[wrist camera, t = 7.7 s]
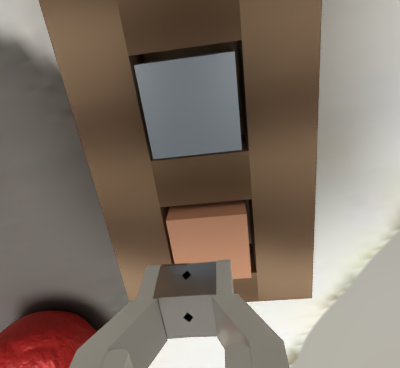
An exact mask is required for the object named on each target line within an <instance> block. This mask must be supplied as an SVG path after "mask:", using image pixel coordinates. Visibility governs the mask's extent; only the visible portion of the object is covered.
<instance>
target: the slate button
mask: <svg viewBox="0 0 400 368" xmlns="http://www.w3.org/2000/svg"><path fill="white" fill-rule="evenodd" d="M134 68H135V72H136V77H137V82H138V87H139V92H140V97H141V102H142V107H143V112H144V116H145V121H146V126H147V131H148V136H149V141H150V146H151V151H152V156H153V159H161V158H170V157H180V156H189V155H199V154H208V153H217V152H227V151H236V150H242V144H241V130H240V117H239V103H238V90H237V76H236V63H235V51H233V50H226V51H219V52H211V53H204V54H197V55H190V56H182V57H175V58H168V59H161V60H154V61H148V62H144V63H141V64H137V65H134Z"/></svg>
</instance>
